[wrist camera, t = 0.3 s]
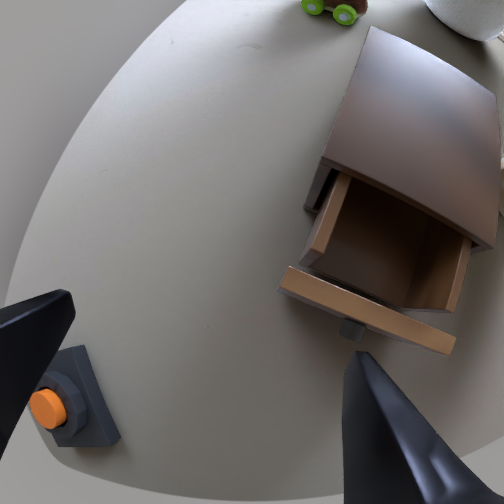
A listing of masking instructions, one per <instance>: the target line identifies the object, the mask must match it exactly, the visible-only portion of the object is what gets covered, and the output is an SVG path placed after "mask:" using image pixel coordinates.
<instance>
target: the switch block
mask: <svg viewBox="0 0 504 504" xmlns="http://www.w3.org/2000/svg"><path fill="white" fill-rule="evenodd" d="M44 389H51V390H53V391H55V392H56V393H57V394H58V395H59V397H60V398H61V399H62V400H63V403H64V405H65V407H66V410H67V419H66V421H65V422H64V423H62V424H61V425H59V426H57V427H55V428H53V429H48V428H45V427H44V428H45V429H46V430H47V431H49V432H50V433H52V435H53V437H54V439H55V441H56V443H57V445H58V447H104V446H112V445H113V444H114V443H115V442H117V441H118V440H119V439H120V438H121V437H120V435H119V433H118V430H117V428H116V426H115V424H114V422H113V420H112V417H111V415H110V413H109V411H108V408H107V406H106V404H105V401H104V399H103V396H102V394H101V391H100V389H99V386H98V384H97V381H96V378H95V376H94V373H93V370H92V367H91V364H90V361H89V359H88V356H87V352H86V349H85V346H84V345H80V346H75V347H70V348H67V349H63V350H60V351H57V353H56V355H55V356H54V358H53V360H52V361H51V363H50V365H49V366H48V368H47V370H46V371H45V373H44V375H43V376H42V378H41V380H40V381H39V383H38V385H37V387H36V389H35V390H34V392H33V393H35V392H38V391H41V390H44Z"/></svg>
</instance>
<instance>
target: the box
mask: <svg viewBox="0 0 504 504" xmlns="http://www.w3.org/2000/svg"><path fill="white" fill-rule="evenodd" d="M499 211H500V212H501V214H502V216H504V157H503V158H502V159H501V184H500V203H499Z"/></svg>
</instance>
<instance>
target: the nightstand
mask: <svg viewBox="0 0 504 504" xmlns="http://www.w3.org/2000/svg"><path fill="white" fill-rule="evenodd" d="M335 169H336V170H339V171H341V172H343V173H346V174H348V175H350V176H352V177H354V178H357V179H359V180H361V181H363V182H365V183H368V184H370V185H372V186H374V187H376V188H378V189H380V190H382V191H384V192H386V193H388V194H390V195H392V196H394V197H396V198H398V199H400V200H402V201H404V202H406V203H408V204H410V205H412V206H414V207H416V208H417V209H419V210H421V211H423V212H425V213H427V214H428V215H430V216H432V217H434V218H436V219H437V220H439V221H441V222H443V223H444V224H446V225H448V226H449V227H451V228H453V229H454V230H456V231H458V232H459V233H461V234H463V235H464V236H466V237H468V238H469V239H471V240H472V245H471V250H470V255H471V254H475V253H479V252H483V251H486V250H490V249H493V248H494V247H495V240H496V233H497V224H498V215H499V203H500V184H501V146H500V128H499V117H498V107H497V99H496V96H495V95H494V94H493V93H491V92H490V91H489V90H487V89H486V88H484V87H483V86H482V85H480V84H479V83H477V82H476V81H475V80H473V79H472V78H470V77H469V76H467V75H466V74H464V73H463V72H461V71H459V70H458V69H456V68H455V67H453V66H451V65H450V64H448V63H446V62H445V61H443V60H441V59H439V58H438V57H436V56H434V55H432V54H431V53H429V52H427V51H425V50H423V49H421V48H419V47H417V46H415V45H413V44H411V43H409V42H407V41H405V40H403V39H401V38H398V37H396V36H394V35H392V34H390V33H387V32H385V31H382V30H380V29H378V28H375V27H373V26H370V27H369V30H368V33H367V36H366V39H365V41H364V44H363V47H362V50H361V53H360V55H359V58H358V61H357V64H356V66H355V69H354V72H353V74H352V77H351V80H350V82H349V85H348V88H347V90H346V93H345V96H344V98H343V101H342V104H341V106H340V109H339V111H338V114H337V117H336V119H335V122H334V124H333V127H332V129H331V132H330V135H329V137H328V140H327V142H326V145H325V147H324V150H323V152H322V155H321V158H320V160H319V163H318V166H317V169H316V172H315V175H314V178H313V181H312V184H311V186H310V189H309V192H308V195H307V198H306V201H305V203H304V206H303V208H304V209H306V210H309V211H311V212H313V213H316V214H318V212H319V209H320V207H321V204H322V202H323V199H324V197H325V194H326V191H327V189H328V186H329V183H330V181H331V178H332V175H333V173H334V170H335Z"/></svg>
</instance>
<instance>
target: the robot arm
mask: <svg viewBox="0 0 504 504" xmlns="http://www.w3.org/2000/svg"><path fill="white" fill-rule="evenodd" d="M75 315H76V311H75V307H74V303H73V299H72V295H71V293H70V292H69V291H66V290H63V289H58V290H55V291H52V292H49V293H46V294H43V295H40V296H37V297H34V298H31V299H28V300H25V301H22V302H19V303H16V304H13V305H10V306H7V307H4V308H2V309H0V460H1V457H2V455H3V453H4V450H5V448H6V446H7V444H8V441H9V439H10V437H11V435H12V433H13V430H14V428H15V426H16V424H17V422H18V420H19V418H20V416H21V414H22V412H23V411H24V409H25V407H26V405H27V403H28V401H29V399H30V398H31V396H32V394H33V392H34V390H35V389H36V387H37V385H38V383H39V381H40V380H41V378H42V376H43V375H44V373H45V371H46V370H47V368H48V366H49V365H50V363H51V361H52V360H53V358H54V356H55V355H56V353H57V351H58V349H59V347H60V345H61V343H62V341H63V339H64V338H65V336H66V334H67V332H68V330H69V328H70V326H71V324H72V322H73V320H74V318H75ZM342 441H343V467H344V504H504V497H503V496H500V495H498V494H496V493H495V492H493V491H492V490H491V489H490V488H488V487H487V486H486V485H485V484H484V483H483V482H482V481H481V480H480V479H479V478H478V477H477V476H476V475H475V474H474V473H473V472H472V471H471V470H470V469H469V468H468V467H467V466H466V465H465V464H464V463H463V462H462V461H461V460H460V459H459V458H458V457H457V456H456V455H455V453H454V452H453V451H452V450H451V449H450V448H449V447H448V445H447V444H446V443H445V442H444V441H443V439H442V438H441V437H440V436H439V435H438V434H436V431H435V430H434V429H433V428H432V426H431V425H430V424H429V423H428V422H427V420H426V419H425V418H424V417H423V416H422V414H421V413H420V412H419V411H418V410H417V408H416V407H415V406H414V405H413V404H412V402H411V401H410V400H409V399H408V398H407V397H406V395H405V394H404V393H403V392H402V391H401V390H400V388H399V387H398V386H397V385H396V384H395V383H394V381H393V380H392V379H391V378H390V377H389V376H388V374H387V373H386V372H385V371H384V370H383V369H382V367H381V366H380V365H379V364H378V363H377V362H376V360H375V359H374V358H373V357H372V356H371V355H370V354H369V353H368V352H362V351H355V352H354V353H353V354H352V357H351V359H350V361H349V363H348V365H347V368H346V370H345V373H344V384H343V406H342Z"/></svg>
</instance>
